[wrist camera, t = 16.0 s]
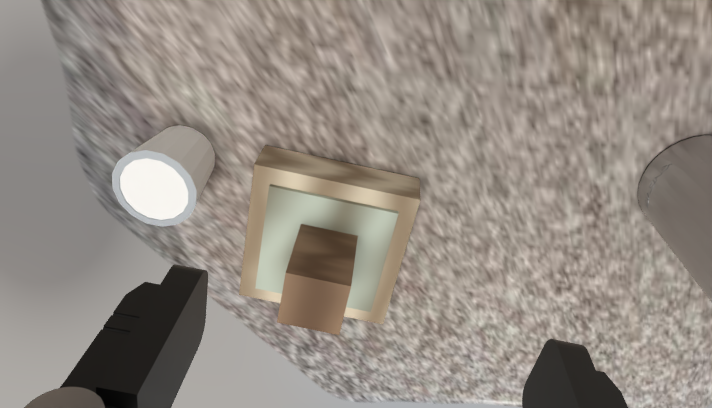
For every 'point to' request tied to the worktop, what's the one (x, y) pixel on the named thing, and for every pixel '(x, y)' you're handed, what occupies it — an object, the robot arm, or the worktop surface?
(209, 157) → the white cup
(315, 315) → the walnut block
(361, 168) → the plinth
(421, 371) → the worktop surface
